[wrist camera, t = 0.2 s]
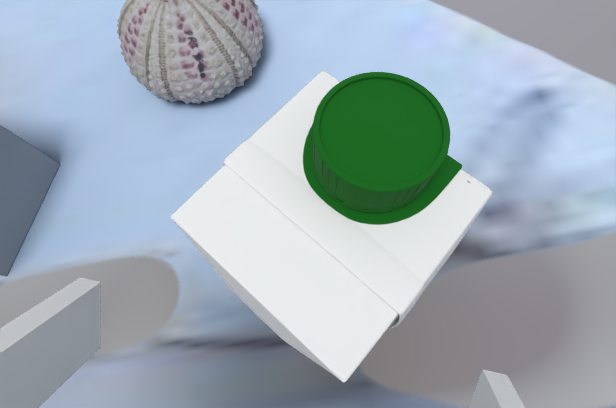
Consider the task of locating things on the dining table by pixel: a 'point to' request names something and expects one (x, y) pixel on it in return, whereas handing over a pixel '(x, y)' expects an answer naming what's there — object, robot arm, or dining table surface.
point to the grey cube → (20, 192)
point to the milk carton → (337, 213)
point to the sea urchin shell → (190, 46)
